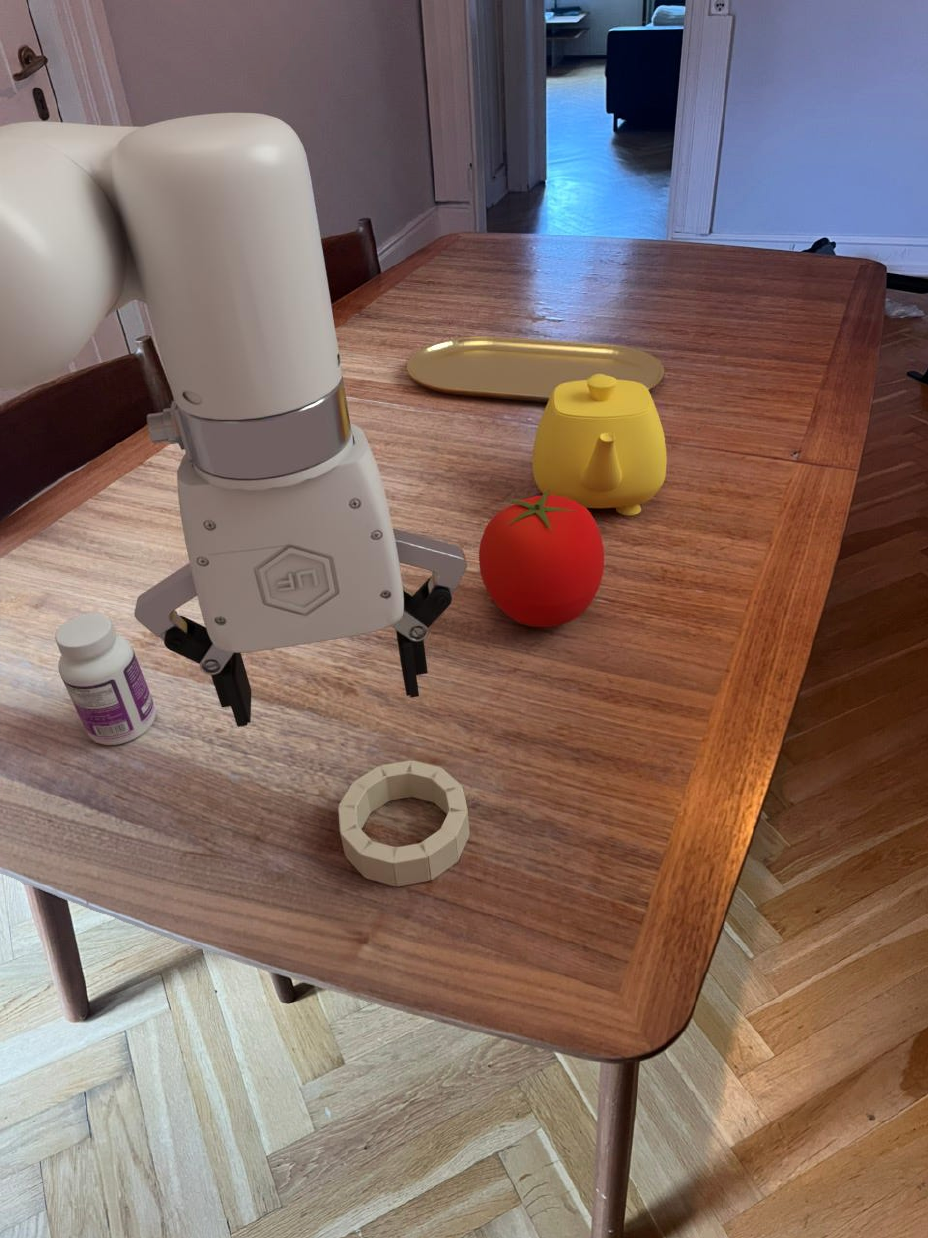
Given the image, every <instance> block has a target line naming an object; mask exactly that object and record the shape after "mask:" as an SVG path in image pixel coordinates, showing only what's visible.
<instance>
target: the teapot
mask: <svg viewBox="0 0 928 1238" xmlns="http://www.w3.org/2000/svg"><path fill="white" fill-rule="evenodd" d="M667 462H668V459H667V446H666V437H665V432H664V428H663V425H662V421H661V418H660V415H659V413H658V409H657V407H656V405H655V401H654V399H653V397H652V395H651V393H650V392H649V390H648V389H647V387H646V386H644V385H643V384H641V383H638V382H634V381H628V380H616V379H615V378H613V377H611V376H606V375H603V374H595V375H593V376H591V378H589V379H588V380H580V381H572V382H567V383H563V384H560V385H558V386H557V387H556V388H555V389H554V391H553V393H552V395H551V397H550V399H549V401H548V403H547V404H546V405H545V408H544V410H543V413H542V415H541V418H540V420H539V424H538V426H537V430H536V433H535V438H534V444H533V449H532V462H531V463H532V464H531V465H532V466H531V467H532V474H533V478H534V481H535V484H536V486H537V487H538V489H539V491H540V492H541V494H542V495H544V494H545V493H546V492H547V491H548V490H549V492H548V495H555V496H561V497H566V498H569V499H572V500H574V501H576V502H577V503H579V504H581V505H582V506H584V507H585V508H586V509H612V508H613V509H614V508H615V510H616V512H617V513H619V514H620V515H623V516H635V515H638V514H640V513H641V511H642V508H641V504H644V503H646V502H649V501H650V500H651V499H653V498H654V496H656V495H657V493H658V492H659V491H660V489H661V487H663V485H664V482H665V480H666V475H667V464H668V463H667Z"/></svg>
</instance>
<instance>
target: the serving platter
mask: <svg viewBox="0 0 928 1238" xmlns="http://www.w3.org/2000/svg"><path fill="white" fill-rule="evenodd" d="M662 363H663V362H662V361H660V360H659V359H658V358H656V357H655V356H654V355H652V354H650V353H648V352H646V351H643V350H641V349H637V348H633V347H629V346H624V345H617V344H609V343H596V342H582V341H567V340H566V341H565V340H553V339H552V340H550V339H536V338H521V337H506V336H495V335H494V336H490V335H488V336H487V335H477V336H465V337H464V336H463V337H457V338H450V339H446V340H443V341H439V342H438V341H437V342H436V343H435V342H434V343H433V344H429V345H428V346H425V347H423V348H420V349H419V350H417V351H416V352H415V353H414V354H412V355H411V357H409V359H408V360H407V363H406V370H407V373H408V374H409V377H411V379H412V380H413V381H415V382H416V383H417V384H419V385H420V386H422V387H424V388H425V389H428V390H431V391H435V392H438V393H442V394H448V395H456V396H468V397H479V398H487V399H488V398H489V399H499V400H513V401H523V402H532V403H533V402H535V403H544V404H546V403H548V401H549V399H550V397H551V395H552V393H553V391H554V389H555V388H556V387H557V386H558V385H560V384H563V383H567V382H572V381H580V380H588V379H589V378H591V376H593V375H595V374H603V375H606V376H611V377H613V378H615V379H616V380H628V381H634V382H638V383H641V384H643V385H644V386H646V387H647V389H648V390H649V393H650V392H652V391H653V390H655V389H656V388H657V387H658V386H659V385H660V384H661V382H662V381H663V380H664V378H665V377H664V376H665V367H664V365H663V364H662Z"/></svg>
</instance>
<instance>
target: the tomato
mask: <svg viewBox="0 0 928 1238" xmlns="http://www.w3.org/2000/svg"><path fill="white" fill-rule="evenodd" d="M548 492H549V490H548V491H547V492H546V493H545V494H544V495H543V494H542V495H535V496H531V497H528V498H525V499H521V500H516V499H510V498H504V499H506V500H507V501H509V502H512V503H513V504H511V505H509V506H507V507H505V508H503V509H501V510H499V511H498V512H497V513H495V514H494V515H493V517H492V518H491V519H490V520H489V522H488V523H487V525H486V527H485V529H484V531H483V533H482V536H481V539H480V543H479V548H478V562H479V572H480V576H481V580H482V582H483V585H484V588H485V590H486V592H487V593H488V595H489V597H490V598H491V600H492V601H493V603H494V604H495V606H496V607H498V609H500V610H501V611H502V612H503V613H504V614H505V615H506V616H508V617H509V618H510V619H512V620H514V621H516V622H518V623H519V624H523V625H526V626H528V627H529V626H530V627H534V628H552V627H553V628H554V627H557V626H561V625H564V624H566V623H569V622H572V621H574V620H575V619H577V618H578V617H580V616H581V615H582V614H583V613H584V612H585V611H587V609H588V608H589V606H590V605H591V604H592V602H593V600H594V598H595V596H596V595H597V593H598V591H599V588H600V585H601V583H602V579H603V574H604V568H605V549H604V543H603V538H602V535H601V532H600V529H599V527H598V524H597V522H596V520H595V518H594V517H593V515H592V513H591V512H590V511H589V510H588V508H585V507H584V506H582V505H581V504H579V503H577V502H576V501H574V500H572V499H569V498H566V497H561V496H555V495H548Z"/></svg>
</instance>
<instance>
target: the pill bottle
mask: <svg viewBox="0 0 928 1238" xmlns="http://www.w3.org/2000/svg"><path fill="white" fill-rule="evenodd" d="M54 638H55V643H56V645H57V647H58V650H59V653H60V657H59V659H58V663H57V664H58V665H57V668H58V673H59V676H60V678H61V680H62V682H63V684H64V687H65V689H66V691H67V694H68V696H69V697H70V700H71V702H72V704H73V706H74V708H75V711H76V712H77V713H76V714H77V715H78V717H79V719H80V721H81V723H82V726H83V728H84V729H85V730H84V731H86V733H87V735H88V737H89V738H90V739H91V740H92V741H94V742H95V743H97V744H101V745H105V746H117V745H121V744H125V743H129V742H131V741H133V740H136V739H137V738H140V737H141V736H142V735H144V734H145V733H146V732H147V731H149V729H150V728H151V727H152V725H153V724H154V722H155V720H156V715H157V709H156V706H155V703H154V700H153V697H152V694H151V692H150V690H149V687H148V684H147V681H146V679H145V676H144V673H143V671H142V669H141V666H140V663H139V661H138V658H137V656H136V653H135V650H134V647H133V646H132V644H131V643H130V641H129V640H128V639H127V638H126V637H124V636H122V635H121V634H119V633H117V630H116V628H115V626H114V624H113V621H112V620H111V618H110V617H109V616H108V615H107V614H104V613H100V612H87V613H83V614H79V615H77V616H74V617H72V618H70V619H68V620H66V621H65V622H64V623H62V624H61V625H60V626H59V627H58V629H57V630H56V632H55V634H54Z"/></svg>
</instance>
